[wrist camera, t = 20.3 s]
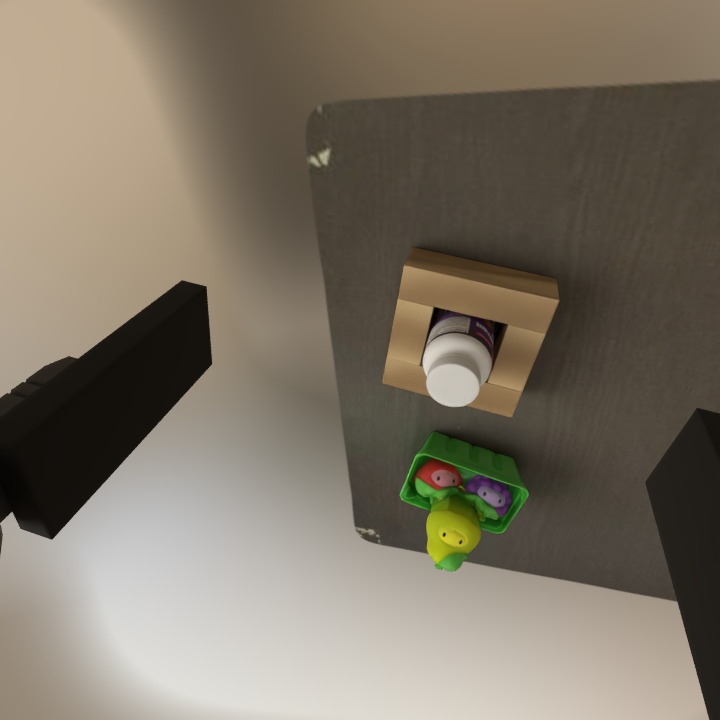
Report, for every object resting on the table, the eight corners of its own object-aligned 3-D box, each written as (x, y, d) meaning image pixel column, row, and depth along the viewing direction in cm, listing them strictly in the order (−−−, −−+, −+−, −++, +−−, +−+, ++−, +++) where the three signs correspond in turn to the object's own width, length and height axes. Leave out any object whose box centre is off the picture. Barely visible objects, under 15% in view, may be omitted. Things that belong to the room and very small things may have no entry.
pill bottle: (500, 343, 44) (496, 411, 37) (442, 352, 47) (426, 418, 39) (488, 290, 42) (481, 351, 34) (427, 302, 44) (407, 361, 36)
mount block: (413, 246, 42) (404, 265, 38) (556, 278, 40) (559, 300, 37) (391, 360, 49) (382, 383, 45) (512, 391, 47) (511, 418, 44)
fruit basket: (531, 454, 50) (533, 547, 42) (499, 505, 56) (495, 598, 47) (425, 417, 52) (404, 500, 43) (403, 471, 57) (381, 555, 48)
